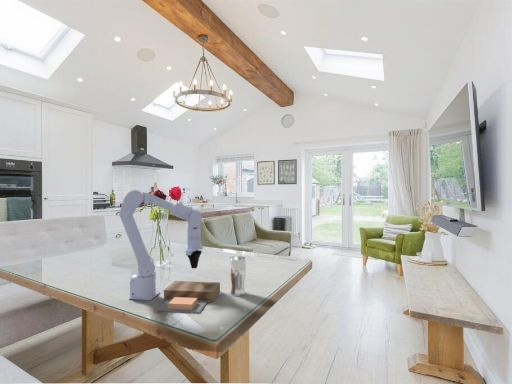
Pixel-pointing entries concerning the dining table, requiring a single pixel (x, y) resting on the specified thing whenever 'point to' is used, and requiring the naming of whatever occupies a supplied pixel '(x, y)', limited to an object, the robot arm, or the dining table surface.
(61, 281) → the dining table surface
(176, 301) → the tile
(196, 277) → the dining table surface
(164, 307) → the mat
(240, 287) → the beer glass
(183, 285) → the brown wooden block
